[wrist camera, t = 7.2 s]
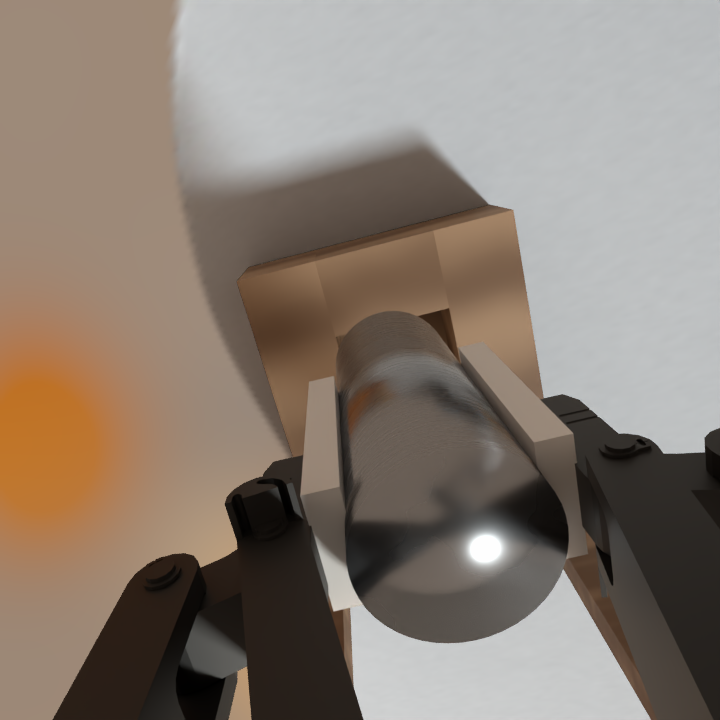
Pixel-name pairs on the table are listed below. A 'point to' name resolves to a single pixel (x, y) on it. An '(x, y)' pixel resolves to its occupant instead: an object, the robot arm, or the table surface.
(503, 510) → the peg
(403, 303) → the socket stand
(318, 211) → the table surface
